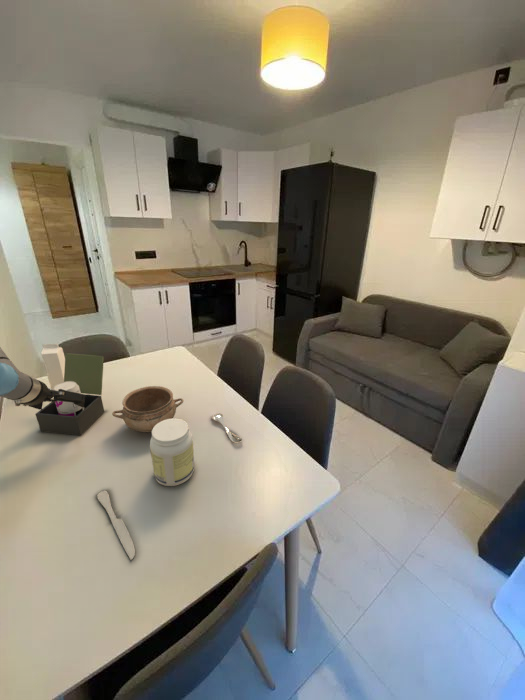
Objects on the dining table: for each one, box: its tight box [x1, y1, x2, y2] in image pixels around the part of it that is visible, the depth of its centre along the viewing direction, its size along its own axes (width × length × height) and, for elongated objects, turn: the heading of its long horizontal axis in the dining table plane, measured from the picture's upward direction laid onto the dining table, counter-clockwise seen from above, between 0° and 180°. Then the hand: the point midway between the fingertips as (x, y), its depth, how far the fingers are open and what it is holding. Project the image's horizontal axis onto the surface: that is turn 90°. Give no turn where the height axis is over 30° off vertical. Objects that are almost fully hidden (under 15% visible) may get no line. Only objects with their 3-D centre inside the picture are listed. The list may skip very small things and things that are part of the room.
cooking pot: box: [111, 385, 184, 433], centre depth 109 cm, size 25×19×12 cm
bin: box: [35, 394, 105, 436], centre depth 110 cm, size 14×15×8 cm
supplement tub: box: [149, 417, 196, 487], centre depth 88 cm, size 12×12×17 cm
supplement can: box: [54, 381, 84, 417], centre depth 108 cm, size 8×8×15 cm
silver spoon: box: [210, 412, 243, 443], centre depth 110 cm, size 20×4×5 cm
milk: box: [40, 343, 65, 390], centre depth 128 cm, size 6×6×22 cm
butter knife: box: [96, 490, 136, 560], centre depth 75 cm, size 1×24×3 cm
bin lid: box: [64, 352, 105, 396], centre depth 115 cm, size 15×15×1 cm
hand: (62, 404), depth 103 cm, fingers open, 13 cm apart
